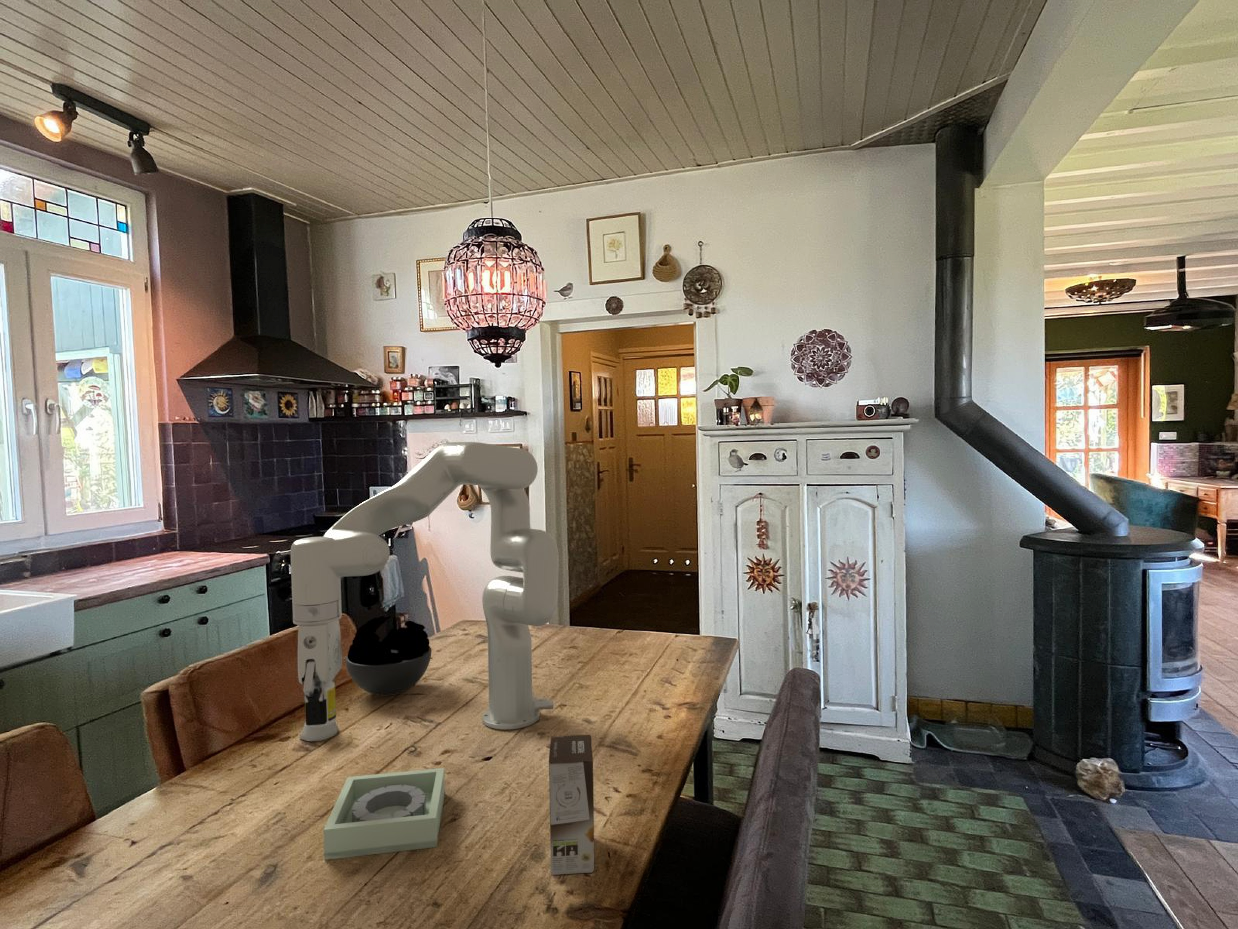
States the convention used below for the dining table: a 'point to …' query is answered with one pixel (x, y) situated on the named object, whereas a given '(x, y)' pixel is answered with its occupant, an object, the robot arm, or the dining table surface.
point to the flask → (318, 732)
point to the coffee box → (571, 804)
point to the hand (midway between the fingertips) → (321, 716)
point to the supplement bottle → (328, 702)
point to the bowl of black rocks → (388, 657)
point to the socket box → (386, 814)
